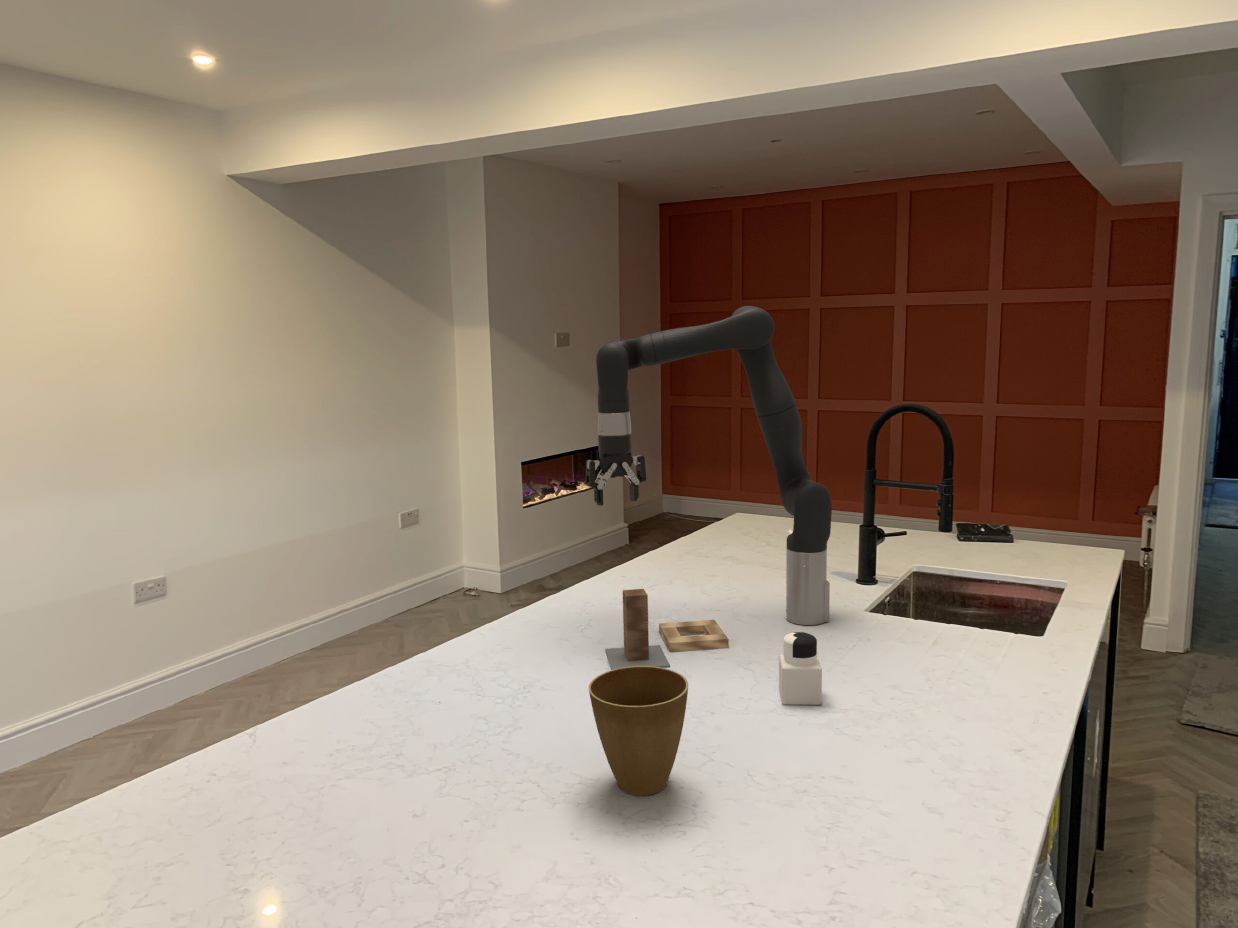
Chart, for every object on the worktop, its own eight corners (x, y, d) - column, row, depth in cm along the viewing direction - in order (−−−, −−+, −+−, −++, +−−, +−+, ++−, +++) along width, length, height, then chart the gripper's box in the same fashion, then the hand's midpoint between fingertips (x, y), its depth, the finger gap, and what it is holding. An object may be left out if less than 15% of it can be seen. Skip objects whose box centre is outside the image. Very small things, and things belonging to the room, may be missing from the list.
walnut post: (644, 651, 185) (643, 588, 183) (649, 659, 181) (647, 594, 179) (624, 653, 184) (622, 590, 182) (627, 661, 180) (626, 596, 178)
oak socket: (714, 627, 200) (714, 619, 200) (728, 647, 187) (728, 638, 187) (659, 631, 198) (658, 623, 198) (669, 651, 186) (669, 642, 185)
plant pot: (632, 751, 142) (630, 658, 139) (708, 778, 132) (707, 679, 130) (571, 789, 130) (567, 688, 128) (649, 822, 121) (647, 714, 119)
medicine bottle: (816, 689, 164) (817, 628, 163) (821, 705, 157) (822, 642, 156) (778, 689, 165) (778, 628, 163) (782, 704, 158) (782, 642, 156)
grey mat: (659, 646, 189) (659, 644, 189) (670, 667, 177) (670, 665, 177) (605, 650, 188) (605, 648, 187) (611, 671, 176) (611, 669, 176)
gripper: (593, 436, 188) (595, 509, 190) (650, 431, 194) (652, 502, 197) (578, 433, 194) (581, 504, 197) (634, 428, 201) (636, 497, 203)
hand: (616, 503), depth 197 cm, fingers open, 8 cm apart
